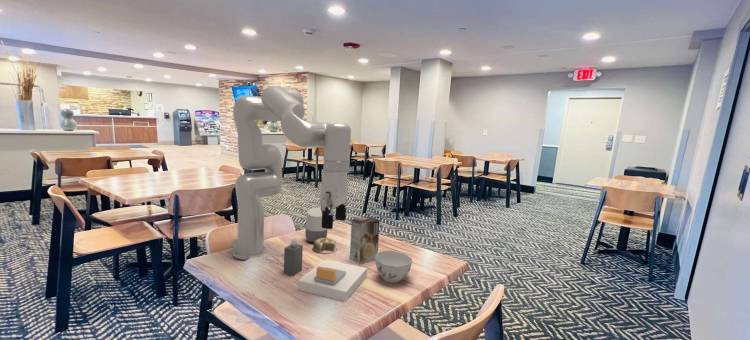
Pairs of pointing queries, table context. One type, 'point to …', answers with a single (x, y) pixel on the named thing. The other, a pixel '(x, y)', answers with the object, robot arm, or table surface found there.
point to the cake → (324, 245)
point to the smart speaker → (314, 225)
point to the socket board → (341, 288)
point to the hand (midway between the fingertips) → (334, 223)
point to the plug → (293, 258)
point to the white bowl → (393, 265)
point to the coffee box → (364, 239)
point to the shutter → (328, 275)
